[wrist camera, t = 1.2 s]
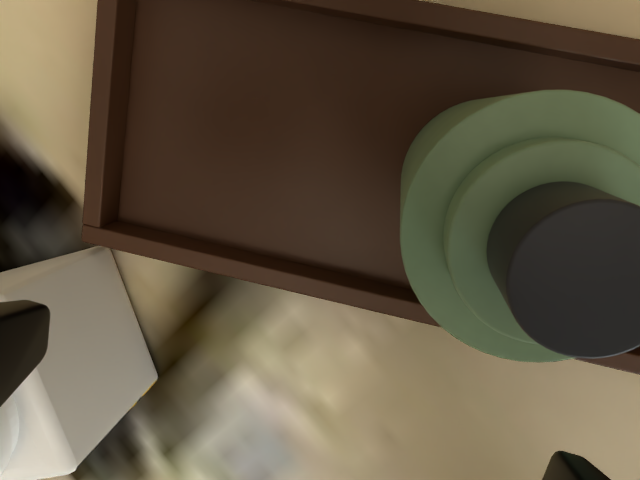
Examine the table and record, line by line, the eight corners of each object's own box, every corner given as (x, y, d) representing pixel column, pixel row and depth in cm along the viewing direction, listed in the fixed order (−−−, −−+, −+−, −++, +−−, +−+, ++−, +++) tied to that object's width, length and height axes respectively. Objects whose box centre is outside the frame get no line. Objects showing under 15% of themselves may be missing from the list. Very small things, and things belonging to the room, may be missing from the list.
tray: (835, 403, 21) (876, 432, 19) (104, 231, 24) (80, 241, 22) (988, 112, 18) (1055, 113, 16) (127, -42, 21) (101, -57, 19)
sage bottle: (540, 276, 21) (720, 492, 9) (384, 240, 22) (364, 401, 10) (592, 116, 19) (898, 127, 7) (421, 83, 20) (451, 44, 8)
